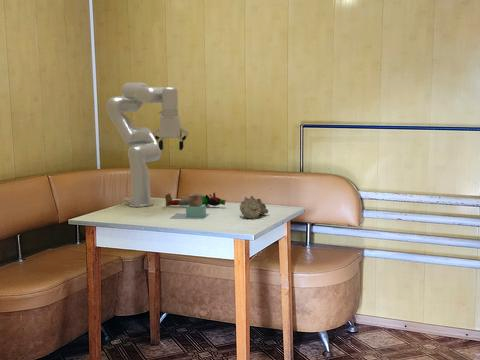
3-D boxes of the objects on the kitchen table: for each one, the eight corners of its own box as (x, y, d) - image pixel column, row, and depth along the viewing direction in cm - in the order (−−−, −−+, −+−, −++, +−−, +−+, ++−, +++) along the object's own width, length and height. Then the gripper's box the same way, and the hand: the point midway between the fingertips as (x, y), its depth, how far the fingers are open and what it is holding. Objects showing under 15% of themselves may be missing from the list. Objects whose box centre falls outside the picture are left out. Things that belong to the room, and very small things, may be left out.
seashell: (236, 221, 272) (234, 200, 269) (249, 212, 284) (248, 191, 282) (258, 223, 267) (257, 202, 264) (271, 214, 279) (270, 193, 277)
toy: (176, 188, 318) (231, 187, 312) (177, 203, 319) (232, 202, 313) (155, 199, 286) (216, 197, 280) (157, 215, 287) (217, 214, 281)
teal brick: (186, 217, 272) (185, 206, 272) (189, 215, 277) (188, 204, 277) (203, 217, 271) (203, 206, 270) (205, 215, 276) (205, 204, 275)
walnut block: (188, 206, 271) (188, 195, 271) (191, 204, 276) (191, 193, 276) (199, 206, 270) (199, 195, 270) (202, 204, 275) (201, 193, 275)
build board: (169, 220, 270) (169, 218, 270) (176, 215, 282) (176, 213, 282) (203, 220, 267) (203, 219, 267) (209, 215, 279) (209, 213, 279)
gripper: (150, 114, 282) (151, 150, 284) (185, 113, 279) (186, 150, 281) (155, 113, 289) (156, 149, 292) (189, 113, 286) (190, 149, 288)
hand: (171, 149), depth 286 cm, fingers open, 9 cm apart
